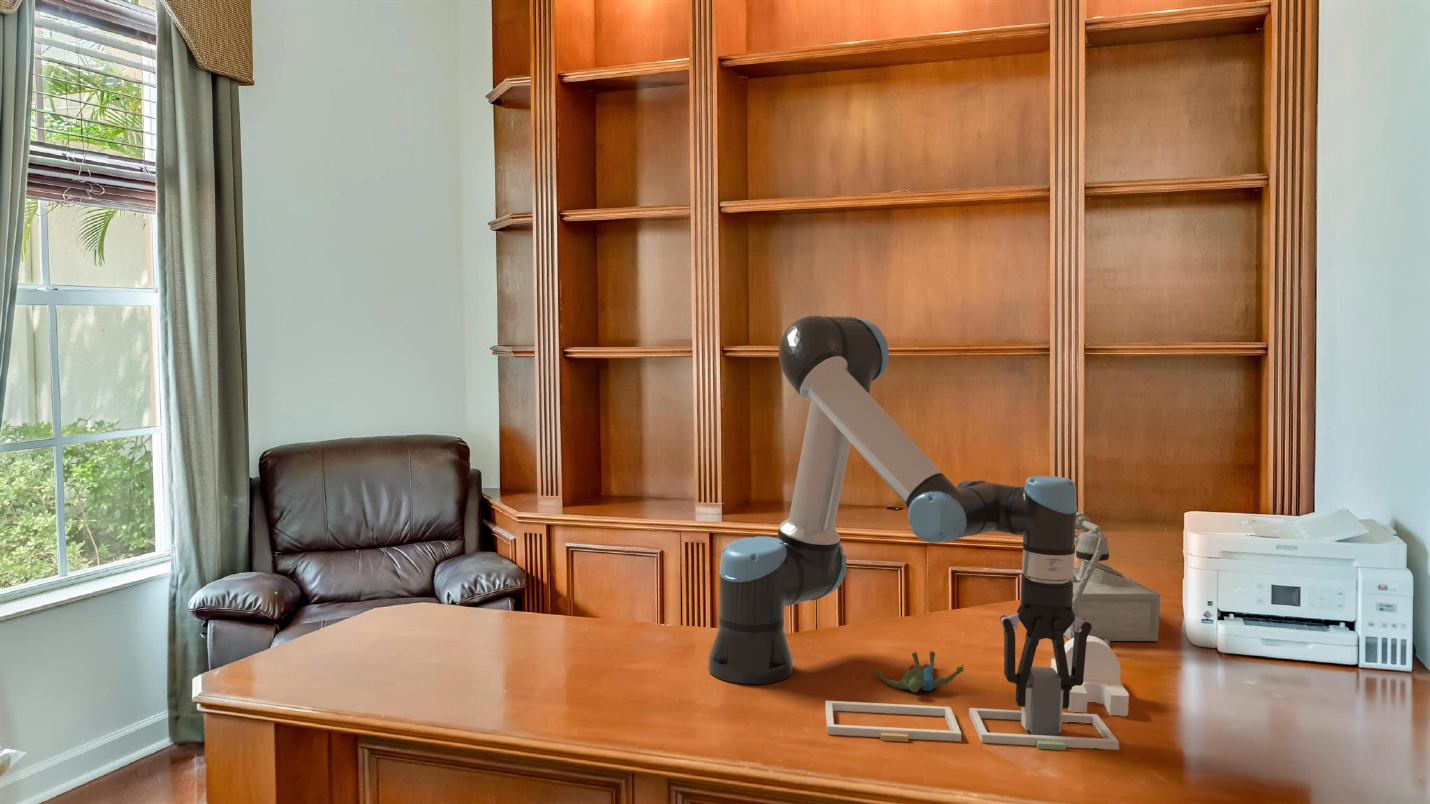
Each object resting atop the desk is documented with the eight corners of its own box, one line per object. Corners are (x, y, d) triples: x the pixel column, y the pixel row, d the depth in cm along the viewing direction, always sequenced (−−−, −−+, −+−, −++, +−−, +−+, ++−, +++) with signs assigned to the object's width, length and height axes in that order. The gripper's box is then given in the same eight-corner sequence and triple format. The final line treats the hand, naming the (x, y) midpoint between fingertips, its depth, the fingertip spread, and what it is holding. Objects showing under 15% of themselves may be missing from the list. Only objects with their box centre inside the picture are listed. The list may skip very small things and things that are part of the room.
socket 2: (982, 745, 149) (983, 738, 149) (968, 715, 161) (969, 707, 161) (1121, 753, 147) (1121, 745, 147) (1096, 721, 159) (1097, 714, 159)
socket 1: (827, 737, 151) (827, 729, 151) (825, 707, 163) (825, 700, 163) (962, 744, 149) (962, 736, 149) (950, 714, 161) (950, 707, 161)
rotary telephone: (1173, 653, 196) (1180, 526, 195) (1070, 652, 196) (1076, 525, 194) (1104, 608, 228) (1109, 500, 227) (1015, 607, 228) (1020, 498, 226)
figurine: (966, 647, 182) (960, 675, 165) (969, 669, 182) (963, 699, 165) (880, 652, 187) (866, 680, 170) (883, 673, 187) (869, 703, 170)
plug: (1031, 735, 152) (1034, 677, 152) (1023, 720, 158) (1025, 664, 157) (1058, 736, 152) (1061, 678, 151) (1049, 722, 158) (1051, 666, 157)
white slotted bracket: (1067, 713, 163) (1070, 652, 163) (1049, 677, 181) (1051, 621, 180) (1129, 718, 162) (1132, 656, 161) (1104, 681, 180) (1107, 625, 179)
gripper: (995, 581, 150) (989, 734, 151) (1112, 586, 149) (1105, 740, 150) (986, 570, 157) (980, 715, 159) (1097, 574, 156) (1090, 721, 158)
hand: (1041, 727), depth 155 cm, fingers closed on plug, 4 cm apart
